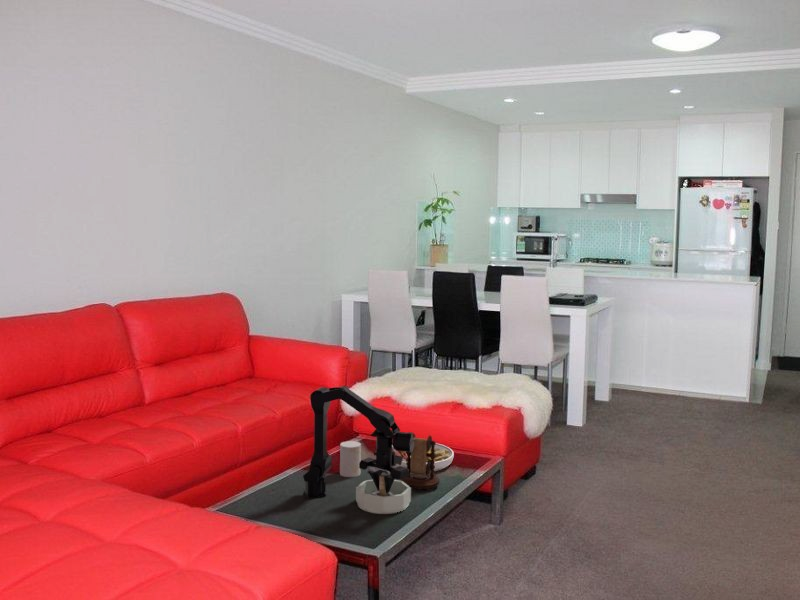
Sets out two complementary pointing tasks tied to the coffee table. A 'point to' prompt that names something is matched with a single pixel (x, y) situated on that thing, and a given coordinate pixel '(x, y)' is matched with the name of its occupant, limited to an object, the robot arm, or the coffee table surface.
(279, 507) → the coffee table surface
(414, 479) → the scroll
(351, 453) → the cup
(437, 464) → the bowl
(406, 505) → the octagonal white bin
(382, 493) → the beige rounded cylinder
